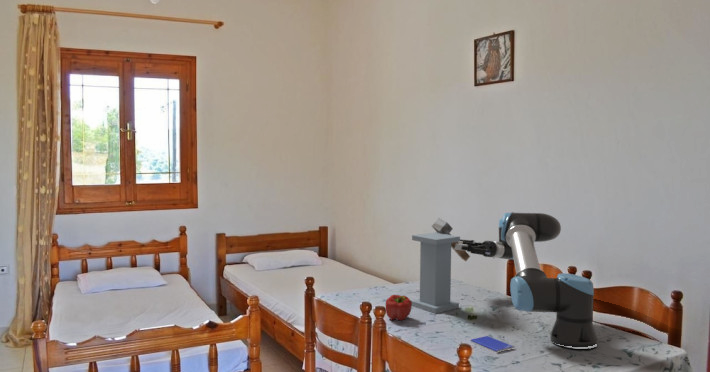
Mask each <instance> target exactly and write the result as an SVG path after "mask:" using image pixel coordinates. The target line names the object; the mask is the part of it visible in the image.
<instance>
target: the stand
mask: <svg viewBox="0 0 710 372" xmlns="http://www.w3.org/2000/svg"><path fill="white" fill-rule="evenodd" d="M411 237H412V238H411V240H412V241H416V242H420V256H419V257H420V258H419V259H420V260H419V261H420V263H419V264H420V265H419V266H420V267H419V299H414V300H411V302H412V307H415V308H418V309H421V310H424V311H427V312H430V313H433V314H438V313H442V312H447V311H450V310H454V309H459V308H460V307H459V306H460V303H459V302H457V301H453V300H451V291H452V290H451V286H452V285H451V283H452V282H451V279H452V278H451V277H452V247H451V243H452V242H459V241H460V240H461V236H459V235H454V234H453V235H452V234H451V235H448V234H442V233H437V232H429V233H421V234H413V235H412V236H411ZM458 307H459V308H458Z"/></svg>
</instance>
